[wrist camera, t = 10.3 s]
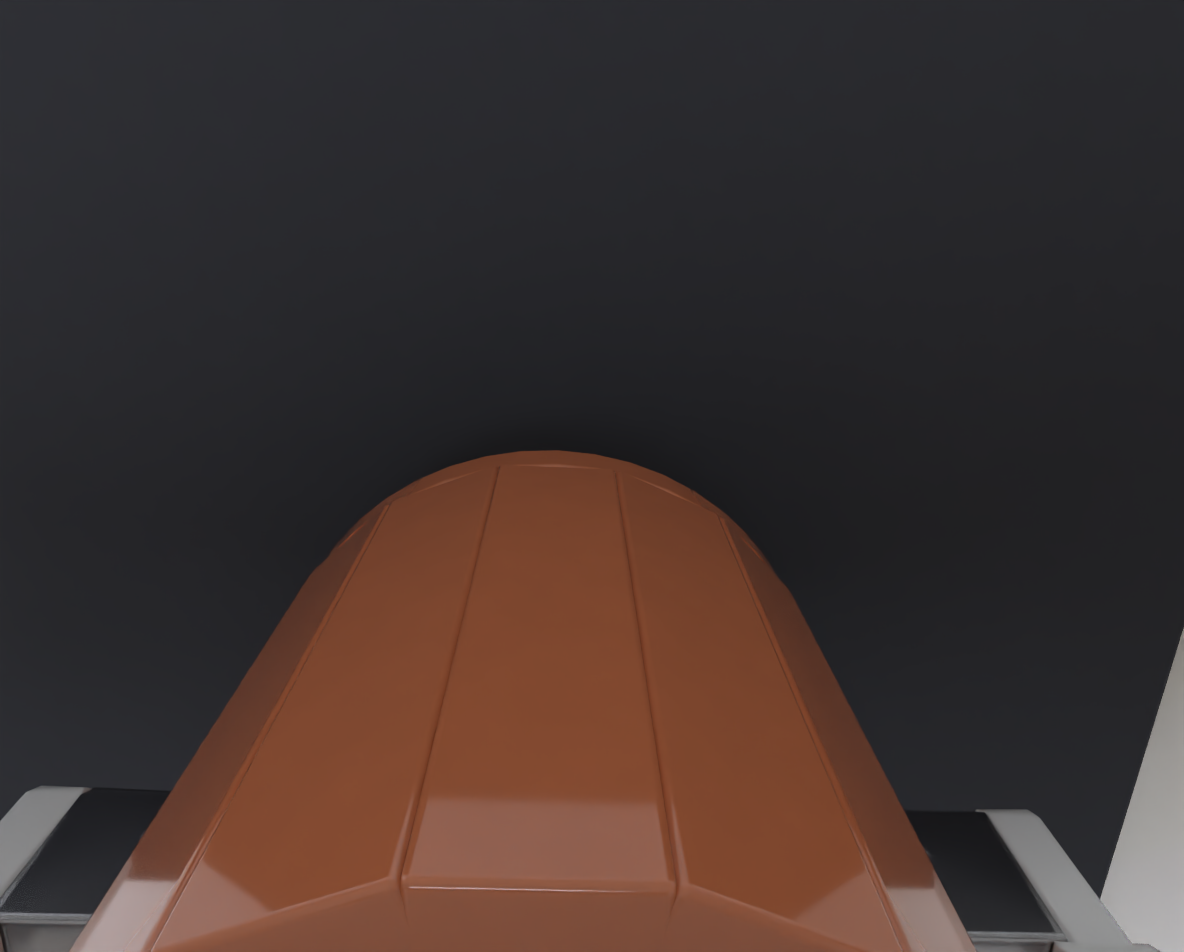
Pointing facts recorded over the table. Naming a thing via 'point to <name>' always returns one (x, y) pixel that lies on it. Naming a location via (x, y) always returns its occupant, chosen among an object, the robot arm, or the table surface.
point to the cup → (534, 748)
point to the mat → (605, 342)
